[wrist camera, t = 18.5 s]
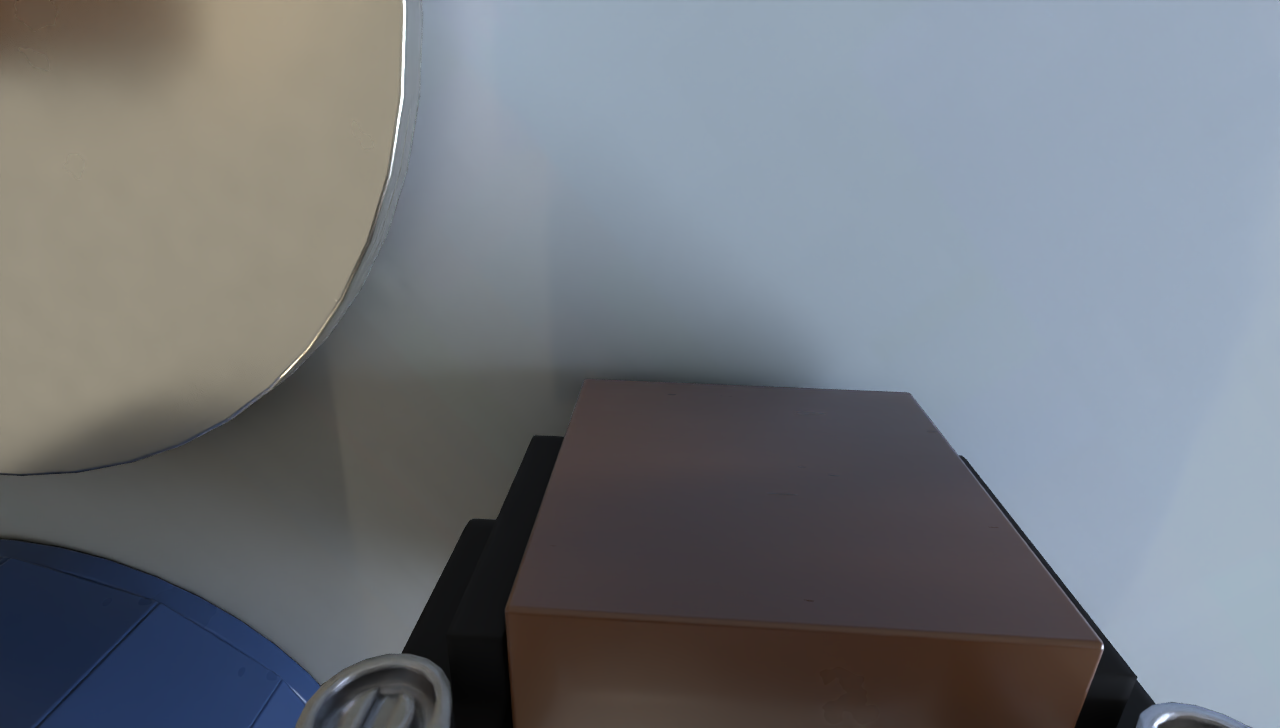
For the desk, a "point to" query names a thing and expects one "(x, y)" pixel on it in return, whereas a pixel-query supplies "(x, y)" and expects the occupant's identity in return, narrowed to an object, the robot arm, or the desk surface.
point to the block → (781, 573)
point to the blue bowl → (130, 651)
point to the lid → (185, 208)
